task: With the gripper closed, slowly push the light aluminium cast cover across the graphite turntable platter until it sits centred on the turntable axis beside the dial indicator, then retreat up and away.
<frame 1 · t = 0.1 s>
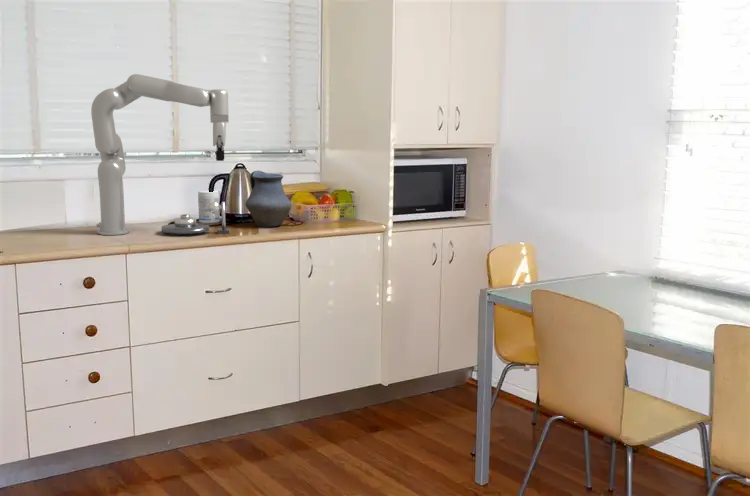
hand: (220, 159, 325), 31 cm above the table, tool pointing down, fingers open, 9 cm apart
turntable base: (185, 233, 326), on the table
dial indicator: (221, 232, 328), on the table
supplement tub: (209, 222, 359), on the table
cast cover: (185, 225, 329), point 3 cm above the table, touching turntable
turntable: (185, 228, 326), point 2 cm above the table, hinge at 0.0°, touching cast cover
pitcher: (267, 226, 350), on the table
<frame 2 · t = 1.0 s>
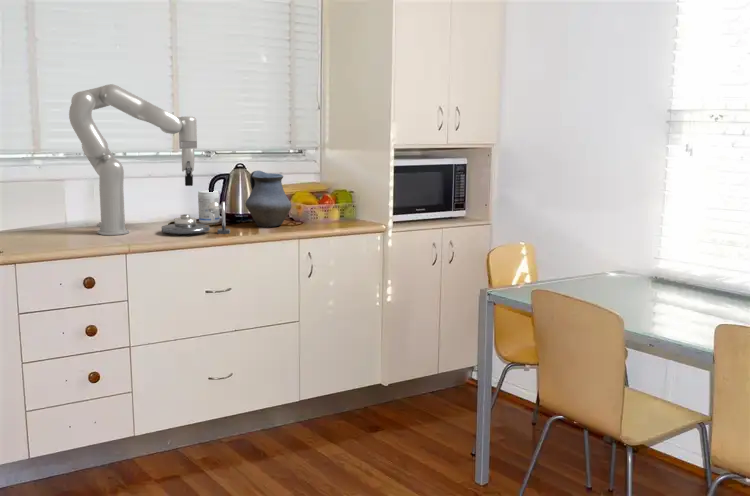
hand: (189, 184, 334), 20 cm above the table, tool pointing down, fingers open, 9 cm apart
nothing on the table moved.
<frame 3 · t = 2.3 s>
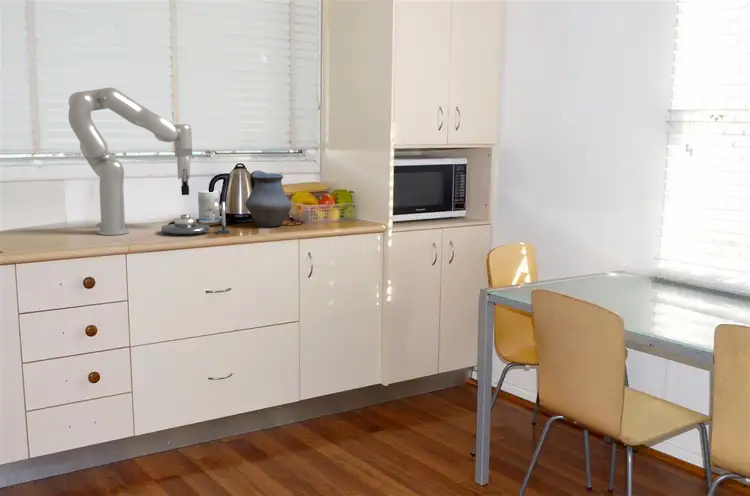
hand: (185, 194, 336), 15 cm above the table, tool pointing down, fingers closed
nothing on the table moved.
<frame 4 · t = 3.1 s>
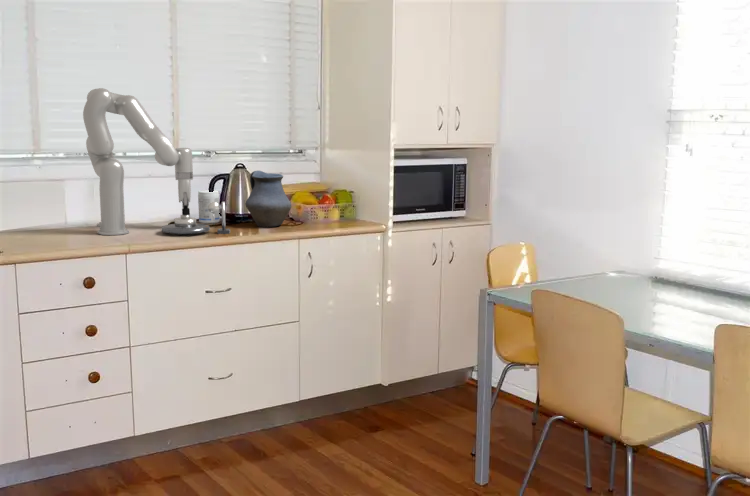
hand: (186, 217, 338), 5 cm above the table, tool pointing down, fingers closed
nothing on the table moved.
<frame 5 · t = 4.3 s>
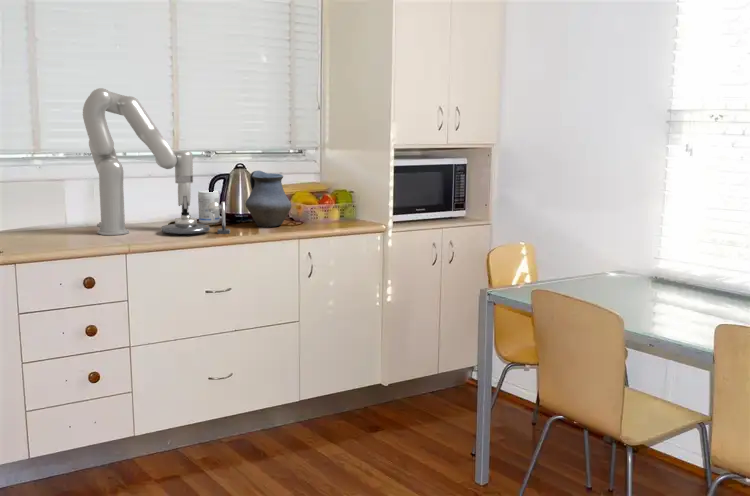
hand: (185, 221, 334), 4 cm above the table, tool pointing down, fingers closed
cast cover: (186, 225, 328), point 3 cm above the table
turntable: (185, 228, 326), point 2 cm above the table, hinge at 0.0°
everything else where it was.
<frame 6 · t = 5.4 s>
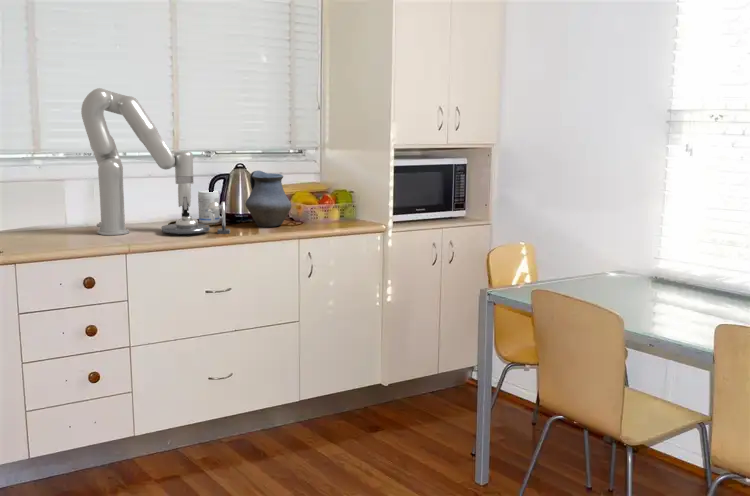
hand: (185, 222, 331), 4 cm above the table, tool pointing down, fingers closed
cast cover: (187, 227, 325), point 3 cm above the table, touching turntable
turntable: (185, 228, 326), point 2 cm above the table, hinge at 0.0°, touching cast cover
everything else where it was.
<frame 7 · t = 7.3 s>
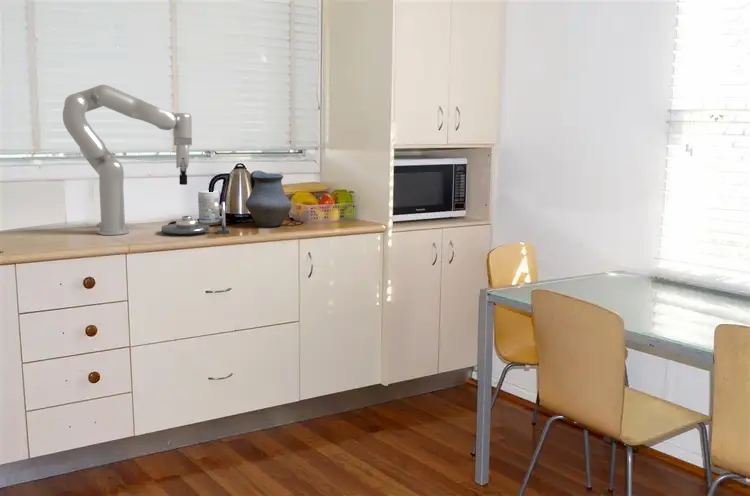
hand: (183, 184, 332), 20 cm above the table, tool pointing down, fingers closed
nothing on the table moved.
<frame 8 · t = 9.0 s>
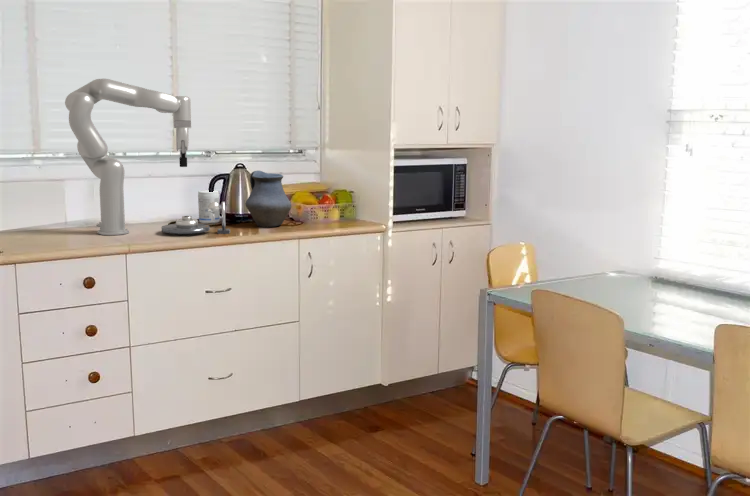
hand: (183, 166, 338), 27 cm above the table, tool pointing down, fingers closed
nothing on the table moved.
at the end: cast cover 1.0 cm from the turntable (horizontally); cast cover tilted 0°; cast cover touching turntable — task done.
